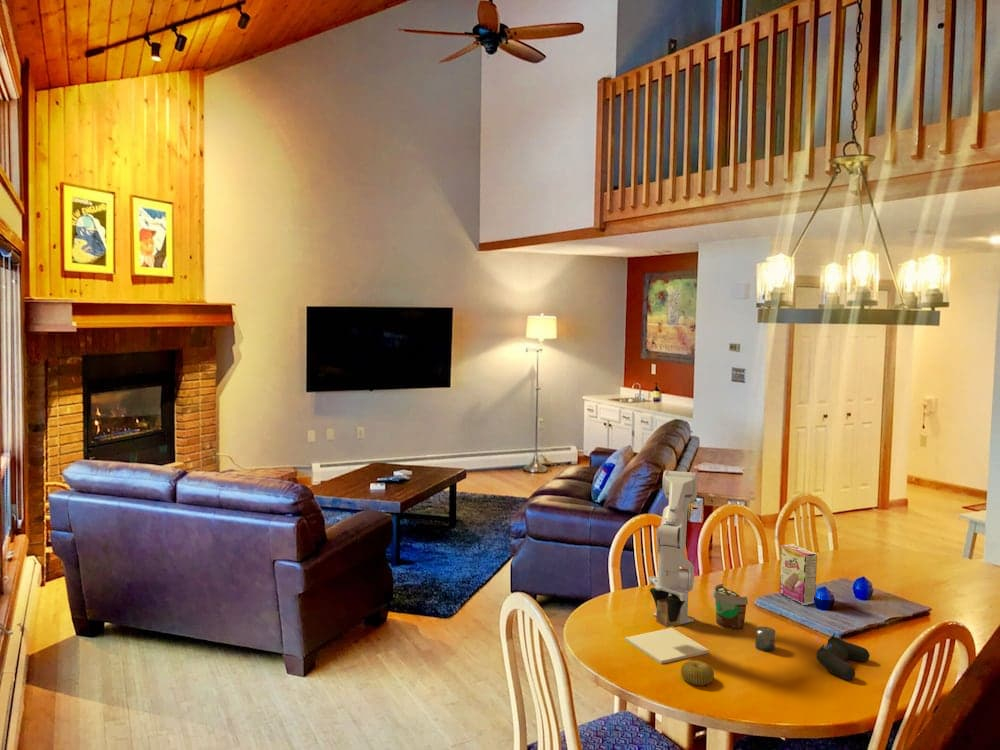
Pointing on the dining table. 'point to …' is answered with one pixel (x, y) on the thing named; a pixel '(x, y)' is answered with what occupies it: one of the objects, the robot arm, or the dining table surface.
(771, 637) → the charcoal metal cylinder
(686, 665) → the olive ribbed round piece
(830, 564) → the dining table surface
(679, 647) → the cream mat
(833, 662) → the gaming controller
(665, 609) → the walnut block
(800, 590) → the candy bar box
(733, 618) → the food container
